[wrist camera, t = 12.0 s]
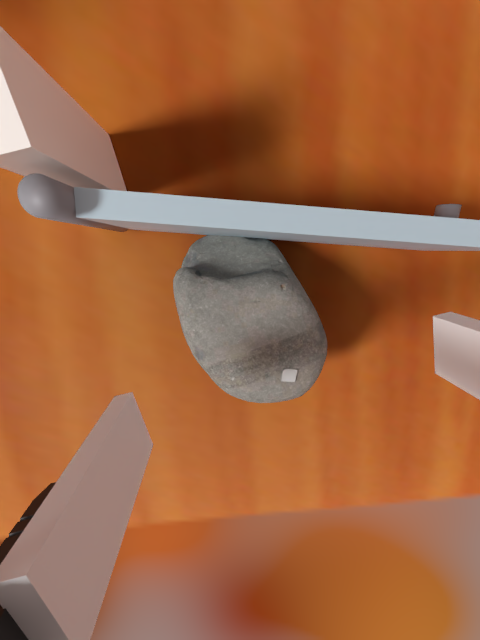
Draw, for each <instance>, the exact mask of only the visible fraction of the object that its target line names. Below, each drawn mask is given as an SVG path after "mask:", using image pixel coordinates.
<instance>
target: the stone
mask: <svg viewBox="0 0 480 640" xmlns="http://www.w3.org/2000/svg"><path fill="white" fill-rule="evenodd" d="M173 289H174V297H175V302H176V306H177V311H178V314H179V318H180V323H181V326H182V330H183V333H184V336H185V338H186V341H187V344H188V345H189V347H190V349H191V351H192V353H193V355H194V357H195V358H196V360H197V361H198V363H199V364H200V366H201V367H202V368H203V369H204V370H205V371H206V373H207V374H208V375H209V376H210V378H211V379H212V380H213V381H214V382H215V383H216V384H217V385H218V386H219V387H220V388H221V389H222V390H224V391H225V392H226V393H228V394H230V395H232V396H234V397H236V398H239V399H242V400H246V401H250V402H256V403H274V402H280V401H286V400H290V399H294V398H297V397H300V396H302V395H303V394H304V393H305V392H307V391H308V390H309V389H310V388H311V387H312V385H313V384H314V383H315V381H316V380H317V378H318V376H319V374H320V372H321V370H322V368H323V365H324V362H325V359H326V355H327V338H326V334H325V331H324V328H323V325H322V323H321V320H320V318H319V316H318V313H317V311H316V310H315V308H314V306H313V304H312V302H311V300H310V299H309V297H308V295H307V294H306V292H305V290H304V288H303V287H302V285H301V283H300V282H299V280H298V279H297V277H296V276H295V274H294V272H293V271H292V269H291V267H290V266H289V264H288V263H287V261H286V259H285V258H284V256H283V255H282V253H281V252H280V250H279V249H278V247H277V246H276V245H275V244H274V243H272V242H270V241H269V240H267V239H262V238H249V237H237V236H220V235H207V236H205V237H203V238H201V239H199V240H197V241H196V242H194V243H193V244H192V245H191V247H190V248H189V251H188V253H187V255H186V257H185V258H184V260H183V263H182V268H180V269H179V270H178V271H177V272H176V274H175V277H174V280H173Z"/></svg>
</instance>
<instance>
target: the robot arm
mask: <svg viewBox="0 0 480 640" xmlns="http://www.w3.org/2000/svg"><path fill="white" fill-rule="evenodd" d="M433 332H434V358H435V373H436V374H437V375H439V376H441V377H442V378H444V379H446V380H447V381H449V382H451V383H452V384H454V385H456V386H457V387H459V388H461V389H462V390H464V391H466V392H467V393H469V394H471V395H473V396H474V397H476V398H478V399H479V400H480V320H477V319H473V318H470V317H466V316H463V315H460V314H456V313H453V312H447V313H443V314H439V315H435V316H433ZM152 447H153V443H152V441H151V438H150V436H149V433H148V430H147V428H146V425H145V423H144V420H143V418H142V415H141V413H140V410H139V408H138V405H137V403H136V400H135V398H134V395H133V393H132V392H130V393H126V394H122V395H119V396H115V397H114V398H113V400H112V401H111V402H110V404H109V405H108V407H107V408H106V410H105V411H104V413H103V414H102V416H101V417H100V419H99V420H98V422H97V423H96V425H95V426H94V427H93V429H92V430H91V432H90V433H89V435H88V436H87V438H86V439H85V441H84V442H83V444H82V445H81V447H80V448H79V450H78V451H77V453H76V454H75V455H74V457H73V458H72V460H71V461H70V463H69V464H68V466H67V467H66V469H65V470H64V472H63V473H62V475H61V476H60V478H59V479H58V481H57V482H55V483H51V484H50V485H49V486H48V487H47V488H46V489H45V490H43V491H42V492H41V493H40V494H39V495H38V496H37V497H36V498H35V499H34V500H33V501H32V503H31V504H30V506H29V507H28V508H27V510H26V511H25V512H24V514H23V515H22V517H21V518H20V522H17V524H16V525H15V526H14V528H13V529H12V531H11V532H10V533H9V537H8V538H6V539H5V540H4V542H3V543H2V544H1V546H0V640H90V638H91V635H92V632H93V629H94V626H95V623H96V620H97V617H98V614H99V611H100V608H101V605H102V601H103V598H104V595H105V592H106V589H107V586H108V583H109V580H110V577H111V574H112V571H113V568H114V564H115V561H116V558H117V555H118V552H119V549H120V546H121V542H122V540H123V537H124V533H125V530H126V527H127V524H128V521H129V518H130V515H131V512H132V509H133V506H134V503H135V500H136V496H137V493H138V490H139V487H140V484H141V481H142V478H143V475H144V472H145V469H146V466H147V462H148V459H149V456H150V453H151V450H152Z"/></svg>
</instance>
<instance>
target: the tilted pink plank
mask: <svg viewBox="0 0 480 640" xmlns="http://www.w3.org/2000/svg"><path fill="white" fill-rule="evenodd" d="M0 167H1V168H4V169H6V170H9V171H12V172H15V173H17V174H20V175H23V176H27V175H29V174H33V173H38V174H42V175H45V176H48V177H50V178H52V179H55V180H57V181H60V182H62V183H64V184H67V185H69V186H72V187H82V188H94V189H107V190H119V191H127V190H126V186H125V183H124V180H123V177H122V174H121V171H120V168H119V165H118V161H117V158H116V155H115V152H114V149H113V146H112V143H111V140H110V136H109V134H108V133H107V132H106V131H105V130H104V129H103V128H102V127H101V126H100V125H99V124H98V123H97V122H96V121H95V120H94V119H93V118H92V117H91V116H90V115H89V114H88V113H87V112H86V111H85V110H84V109H83V108H82V107H81V106H80V105H79V104H78V103H77V102H76V101H75V100H74V99H73V98H72V97H71V96H70V95H69V94H68V93H67V92H66V91H65V90H64V89H63V88H62V87H61V86H60V85H59V84H58V83H57V82H56V81H55V80H54V79H53V78H52V77H51V76H50V75H49V74H48V73H47V72H46V71H45V70H44V69H43V68H42V67H41V66H40V65H39V64H38V63H37V62H36V61H35V60H34V59H33V58H32V57H31V56H30V55H29V54H28V53H27V52H26V51H25V50H24V49H23V48H22V47H21V46H20V45H19V44H18V43H17V42H16V41H15V40H14V39H13V38H12V37H11V36H10V35H9V34H8V33H7V32H6V31H5V30H4V29H3V28H2V27H1V26H0Z"/></svg>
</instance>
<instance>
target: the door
mask: <svg viewBox="0 0 480 640" xmlns="http://www.w3.org/2000/svg"><path fill="white" fill-rule="evenodd" d="M18 198H19V201H20V203H21V205H22V207H23V208H24V209H25V210H26V211H27V212H28V213H29V214H31V215H33V216H35V217H38V218H43V219H49V220H54V221H60V222H66V223H72V224H78V225H84V226H90V227H96V228H102V229H108V230H113V231H119V232H124V231H127V230H128V229H132V230H146V231H160V232H174V233H188V234H202V235H220V236H237V237H249V238H262V239H271V240H285V241H298V242H312V243H326V244H340V245H354V246H368V247H382V248H395V249H409V250H423V251H480V220H473V219H460V218H459V214H460V210H461V206H462V205H459V204H442V205H437V206H436V209H435V213H434V216H424V215H412V214H399V213H387V212H375V211H363V210H351V209H338V208H326V207H314V206H302V205H290V204H277V203H265V202H253V201H241V200H229V199H216V198H204V197H192V196H180V195H168V194H155V193H143V192H131V191H119V190H107V189H94V188H82V187H72V186H69V185H67V184H64V183H62V182H60V181H57V180H55V179H52V178H50V177H48V176H45V175H42V174H38V173H33V174H29V175H27V176H25V177H24V178H23V179H22V180H21V181H20V183H19V186H18Z"/></svg>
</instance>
